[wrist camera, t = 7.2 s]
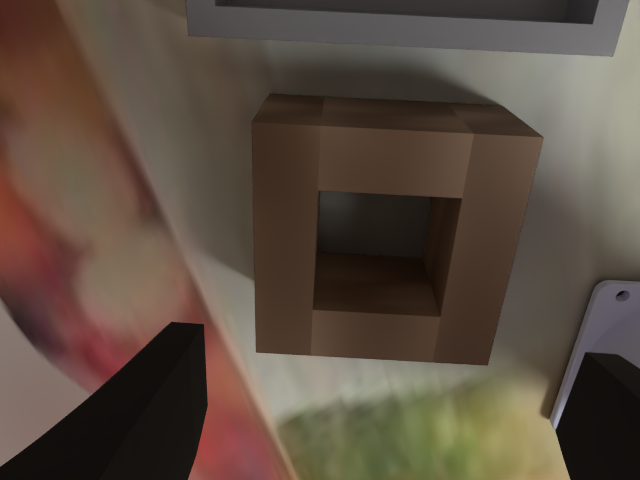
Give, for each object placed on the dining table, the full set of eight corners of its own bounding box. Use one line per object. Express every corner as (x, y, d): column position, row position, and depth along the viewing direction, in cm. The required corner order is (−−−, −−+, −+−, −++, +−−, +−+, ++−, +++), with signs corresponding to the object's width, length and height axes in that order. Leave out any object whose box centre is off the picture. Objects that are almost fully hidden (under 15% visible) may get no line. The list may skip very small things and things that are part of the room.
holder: (501, 105, 17) (543, 137, 14) (462, 300, 21) (487, 365, 18) (269, 94, 18) (251, 122, 14) (270, 290, 21) (256, 352, 18)
